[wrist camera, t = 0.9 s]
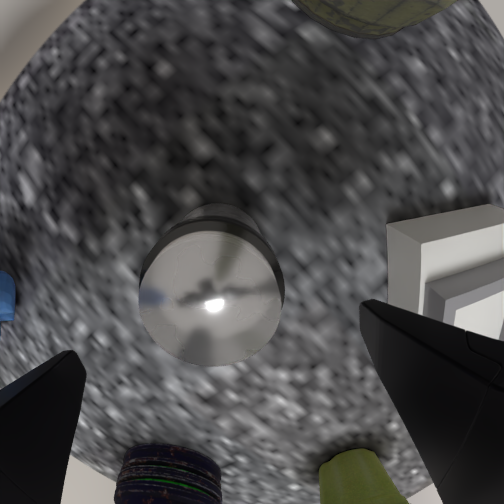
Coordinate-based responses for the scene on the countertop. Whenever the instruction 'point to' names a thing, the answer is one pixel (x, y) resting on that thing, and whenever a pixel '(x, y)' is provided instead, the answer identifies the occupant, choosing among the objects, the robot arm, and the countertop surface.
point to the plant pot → (357, 480)
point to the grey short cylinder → (212, 288)
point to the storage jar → (167, 476)
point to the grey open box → (450, 268)
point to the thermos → (370, 15)
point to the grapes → (6, 297)
